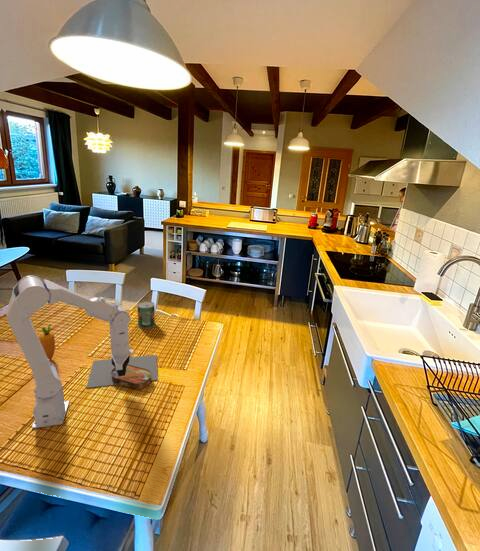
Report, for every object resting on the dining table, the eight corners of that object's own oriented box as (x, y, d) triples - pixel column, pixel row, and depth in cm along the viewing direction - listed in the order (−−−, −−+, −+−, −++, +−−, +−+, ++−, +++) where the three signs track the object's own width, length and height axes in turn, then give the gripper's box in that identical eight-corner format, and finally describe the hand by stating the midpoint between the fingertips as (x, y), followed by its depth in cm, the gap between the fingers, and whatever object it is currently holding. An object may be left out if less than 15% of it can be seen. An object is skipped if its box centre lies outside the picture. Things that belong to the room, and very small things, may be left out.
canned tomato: (135, 323, 152) (134, 303, 148) (150, 319, 157) (149, 299, 153) (142, 330, 147) (141, 309, 143) (157, 325, 152) (157, 305, 148)
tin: (105, 375, 110) (120, 360, 118) (106, 382, 112) (121, 367, 119) (142, 386, 107) (155, 370, 114) (143, 393, 108) (156, 377, 115)
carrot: (54, 354, 124) (49, 320, 119) (59, 359, 121) (55, 325, 116) (40, 359, 121) (35, 325, 116) (46, 364, 118) (40, 330, 113)
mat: (157, 380, 114) (157, 379, 114) (86, 388, 108) (86, 387, 107) (156, 355, 129) (156, 354, 129) (93, 361, 122) (93, 360, 122)
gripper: (131, 351, 98) (133, 387, 102) (133, 329, 111) (134, 361, 115) (107, 354, 96) (110, 389, 100) (112, 330, 109) (114, 363, 113)
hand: (122, 374), depth 107 cm, fingers closed
